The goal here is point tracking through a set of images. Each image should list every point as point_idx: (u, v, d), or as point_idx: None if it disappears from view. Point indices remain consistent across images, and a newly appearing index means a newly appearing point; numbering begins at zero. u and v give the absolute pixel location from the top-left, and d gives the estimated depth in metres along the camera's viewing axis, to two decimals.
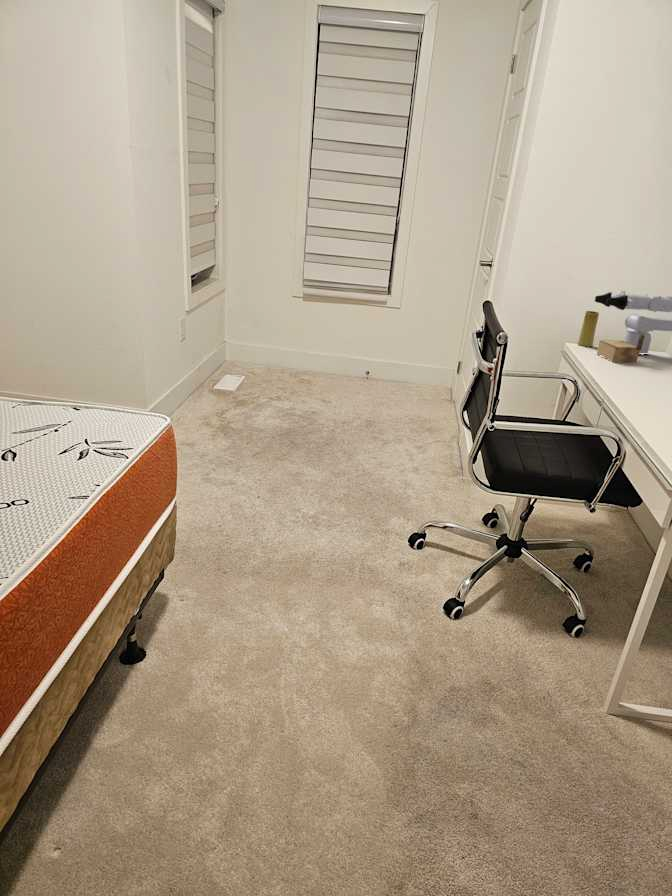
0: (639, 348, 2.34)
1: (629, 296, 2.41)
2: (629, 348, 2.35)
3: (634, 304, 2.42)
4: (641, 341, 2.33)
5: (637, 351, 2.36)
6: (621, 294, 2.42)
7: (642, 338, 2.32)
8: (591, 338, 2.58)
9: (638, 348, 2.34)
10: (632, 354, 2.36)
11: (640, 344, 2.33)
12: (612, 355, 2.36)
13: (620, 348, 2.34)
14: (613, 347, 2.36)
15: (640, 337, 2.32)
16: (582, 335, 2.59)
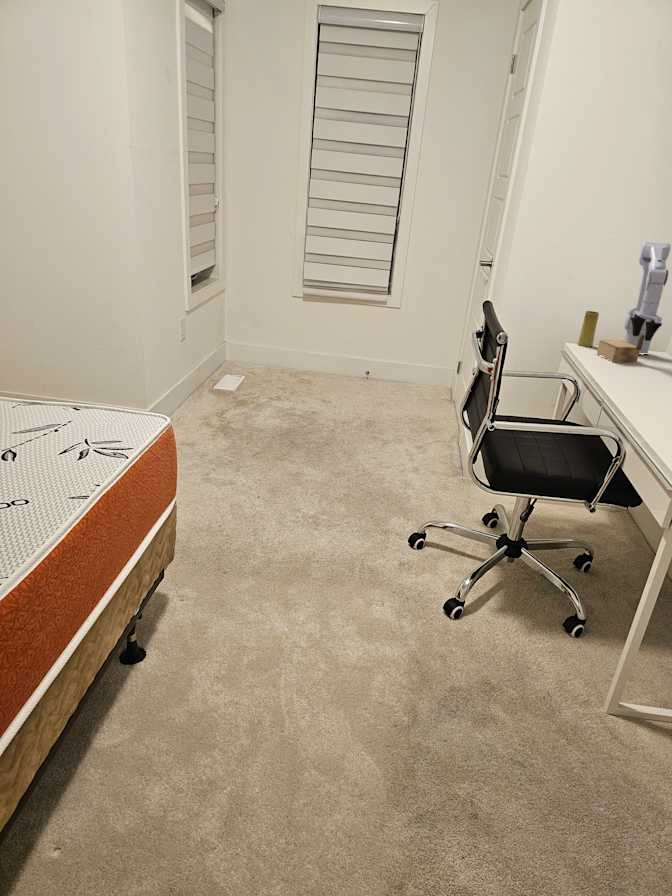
0: (639, 348, 2.34)
1: (646, 310, 2.27)
2: (629, 348, 2.35)
3: (656, 304, 2.25)
4: (641, 341, 2.33)
5: (637, 351, 2.36)
6: (640, 316, 2.29)
7: (642, 338, 2.32)
8: (591, 338, 2.58)
9: (638, 348, 2.34)
10: (632, 354, 2.36)
11: (640, 344, 2.33)
12: (612, 355, 2.36)
13: (620, 348, 2.34)
14: (613, 347, 2.36)
15: (640, 337, 2.32)
16: (582, 335, 2.59)
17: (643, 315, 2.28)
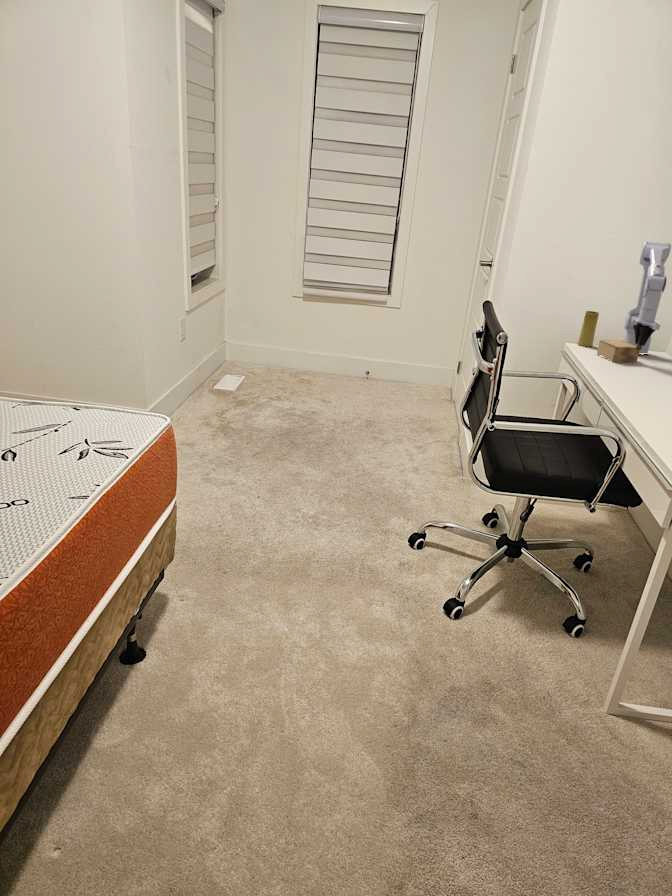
0: (639, 348, 2.34)
1: (644, 316, 2.28)
2: (629, 348, 2.35)
3: (654, 311, 2.26)
4: None
5: (637, 351, 2.36)
6: (639, 322, 2.30)
7: None
8: (591, 338, 2.58)
9: (638, 348, 2.34)
10: (632, 354, 2.36)
11: None
12: (612, 355, 2.36)
13: (620, 348, 2.34)
14: (613, 347, 2.36)
15: None
16: (582, 335, 2.59)
17: (641, 322, 2.29)
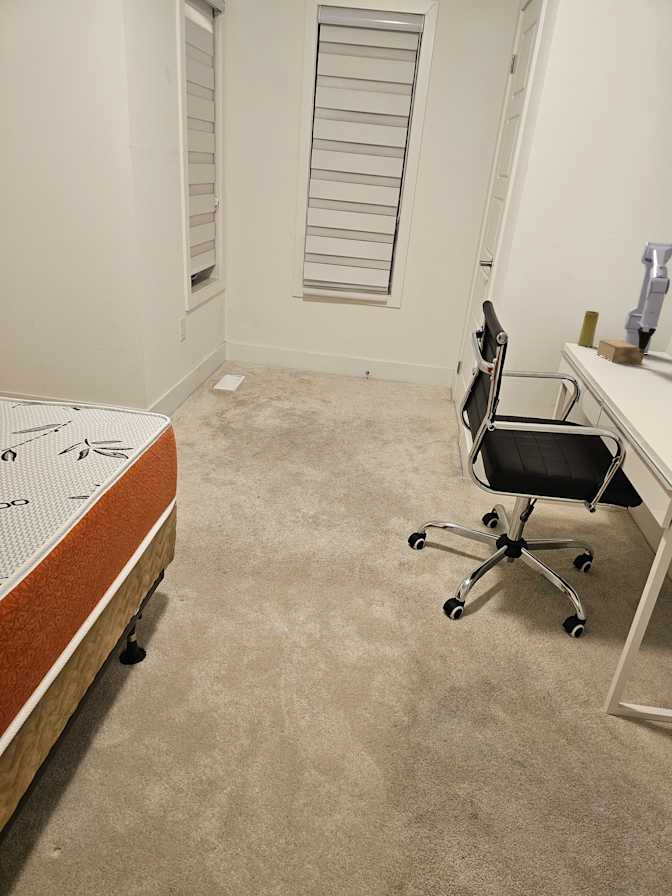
0: (640, 351, 2.29)
1: (642, 318, 2.24)
2: (631, 350, 2.32)
3: (652, 313, 2.21)
4: None
5: (641, 354, 2.31)
6: (640, 324, 2.26)
7: None
8: (591, 338, 2.58)
9: (640, 351, 2.29)
10: (635, 357, 2.32)
11: None
12: (612, 355, 2.36)
13: (620, 349, 2.33)
14: (613, 347, 2.36)
15: None
16: (582, 335, 2.59)
17: (640, 323, 2.25)
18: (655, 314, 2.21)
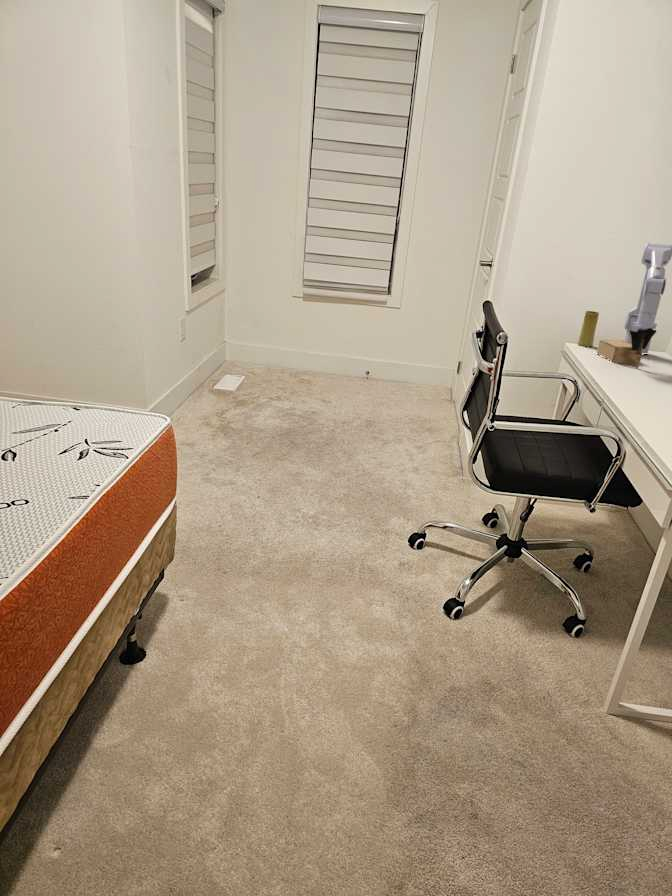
0: (636, 352, 2.27)
1: (637, 318, 2.23)
2: (629, 351, 2.30)
3: (645, 314, 2.19)
4: None
5: (638, 356, 2.28)
6: None
7: None
8: (591, 338, 2.58)
9: (635, 352, 2.27)
10: (632, 358, 2.29)
11: None
12: (612, 355, 2.36)
13: (619, 349, 2.33)
14: (613, 347, 2.36)
15: None
16: (582, 335, 2.59)
17: (635, 324, 2.24)
18: (648, 314, 2.19)
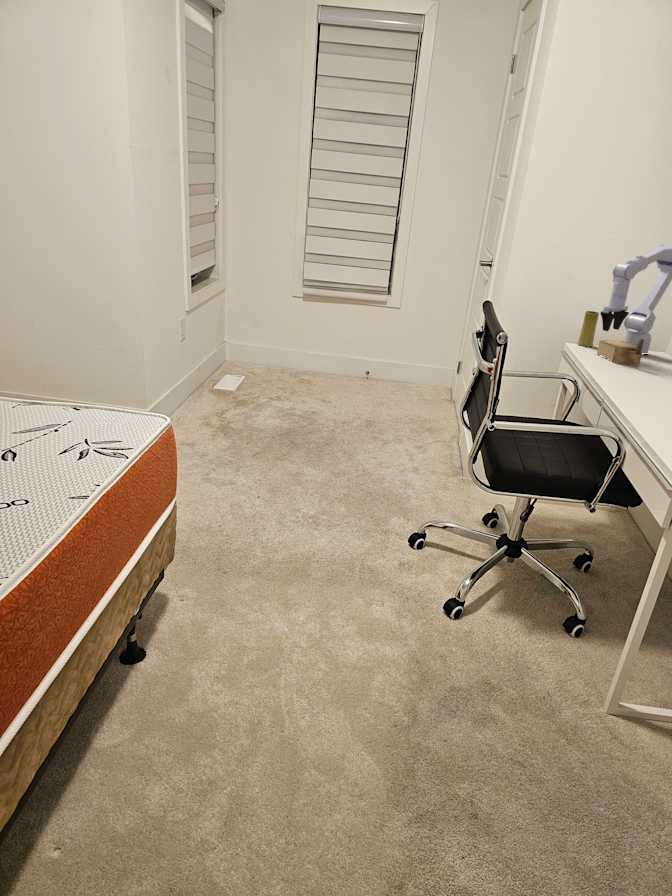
0: (636, 352, 2.27)
1: (609, 301, 2.38)
2: (629, 351, 2.30)
3: (616, 296, 2.35)
4: (638, 345, 2.26)
5: (638, 356, 2.28)
6: None
7: (639, 342, 2.25)
8: (591, 338, 2.58)
9: (635, 352, 2.27)
10: (632, 358, 2.29)
11: (637, 348, 2.26)
12: (612, 355, 2.36)
13: (619, 349, 2.33)
14: (613, 347, 2.36)
15: (638, 341, 2.26)
16: (582, 335, 2.59)
17: None
18: (619, 297, 2.35)
